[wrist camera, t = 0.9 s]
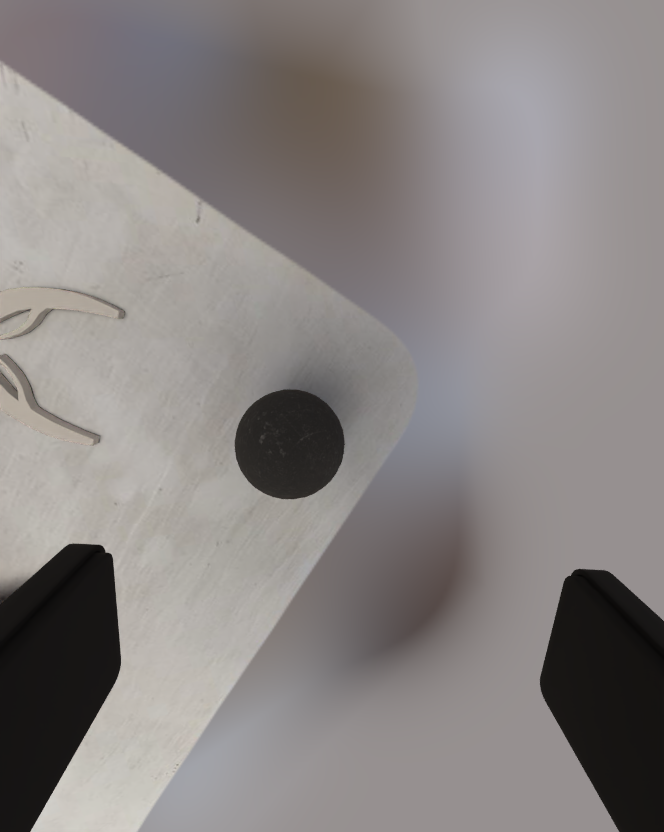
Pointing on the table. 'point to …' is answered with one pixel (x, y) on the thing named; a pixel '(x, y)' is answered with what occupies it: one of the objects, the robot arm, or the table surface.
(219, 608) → the table surface
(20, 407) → the pliers
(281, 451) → the light bulb
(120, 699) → the table surface
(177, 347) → the table surface
